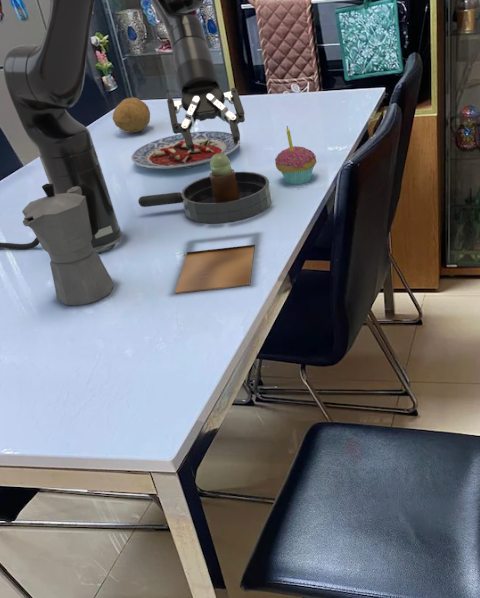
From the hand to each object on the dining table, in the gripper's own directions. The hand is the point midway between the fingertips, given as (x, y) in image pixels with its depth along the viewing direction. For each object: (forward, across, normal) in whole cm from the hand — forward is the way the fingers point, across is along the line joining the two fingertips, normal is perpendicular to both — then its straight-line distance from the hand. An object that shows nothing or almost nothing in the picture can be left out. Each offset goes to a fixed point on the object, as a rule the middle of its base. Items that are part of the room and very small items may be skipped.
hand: (214, 145), depth 137 cm
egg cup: (+11, 0, +3) cm, 11 cm away
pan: (+12, 0, +4) cm, 12 cm away
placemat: (+28, -5, -13) cm, 32 cm away
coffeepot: (+29, -27, -13) cm, 41 cm away
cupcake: (+6, +16, +9) cm, 19 cm away
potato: (-38, -16, +54) cm, 68 cm away
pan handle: (+8, -12, +4) cm, 15 cm away
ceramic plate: (-16, -5, +31) cm, 35 cm away
